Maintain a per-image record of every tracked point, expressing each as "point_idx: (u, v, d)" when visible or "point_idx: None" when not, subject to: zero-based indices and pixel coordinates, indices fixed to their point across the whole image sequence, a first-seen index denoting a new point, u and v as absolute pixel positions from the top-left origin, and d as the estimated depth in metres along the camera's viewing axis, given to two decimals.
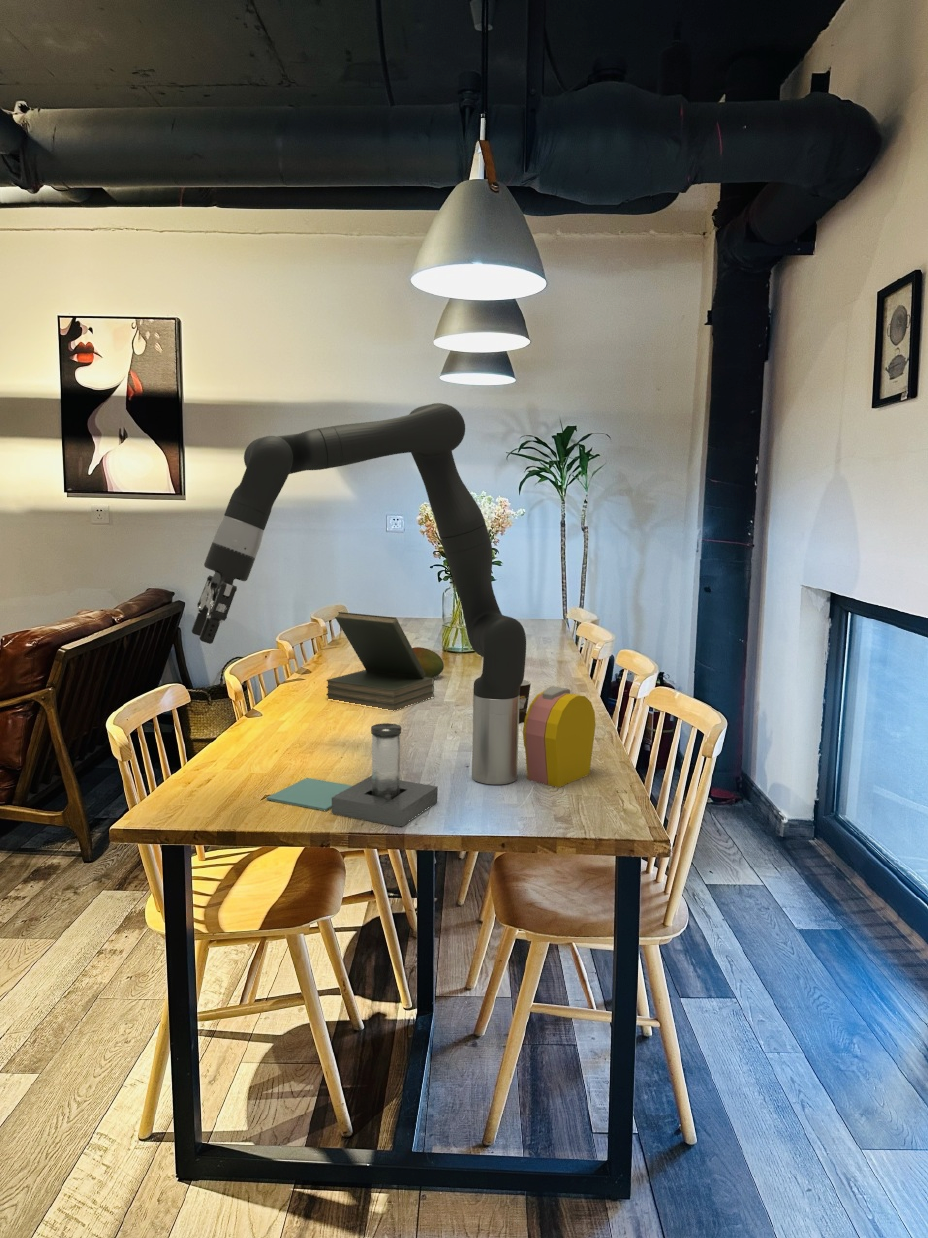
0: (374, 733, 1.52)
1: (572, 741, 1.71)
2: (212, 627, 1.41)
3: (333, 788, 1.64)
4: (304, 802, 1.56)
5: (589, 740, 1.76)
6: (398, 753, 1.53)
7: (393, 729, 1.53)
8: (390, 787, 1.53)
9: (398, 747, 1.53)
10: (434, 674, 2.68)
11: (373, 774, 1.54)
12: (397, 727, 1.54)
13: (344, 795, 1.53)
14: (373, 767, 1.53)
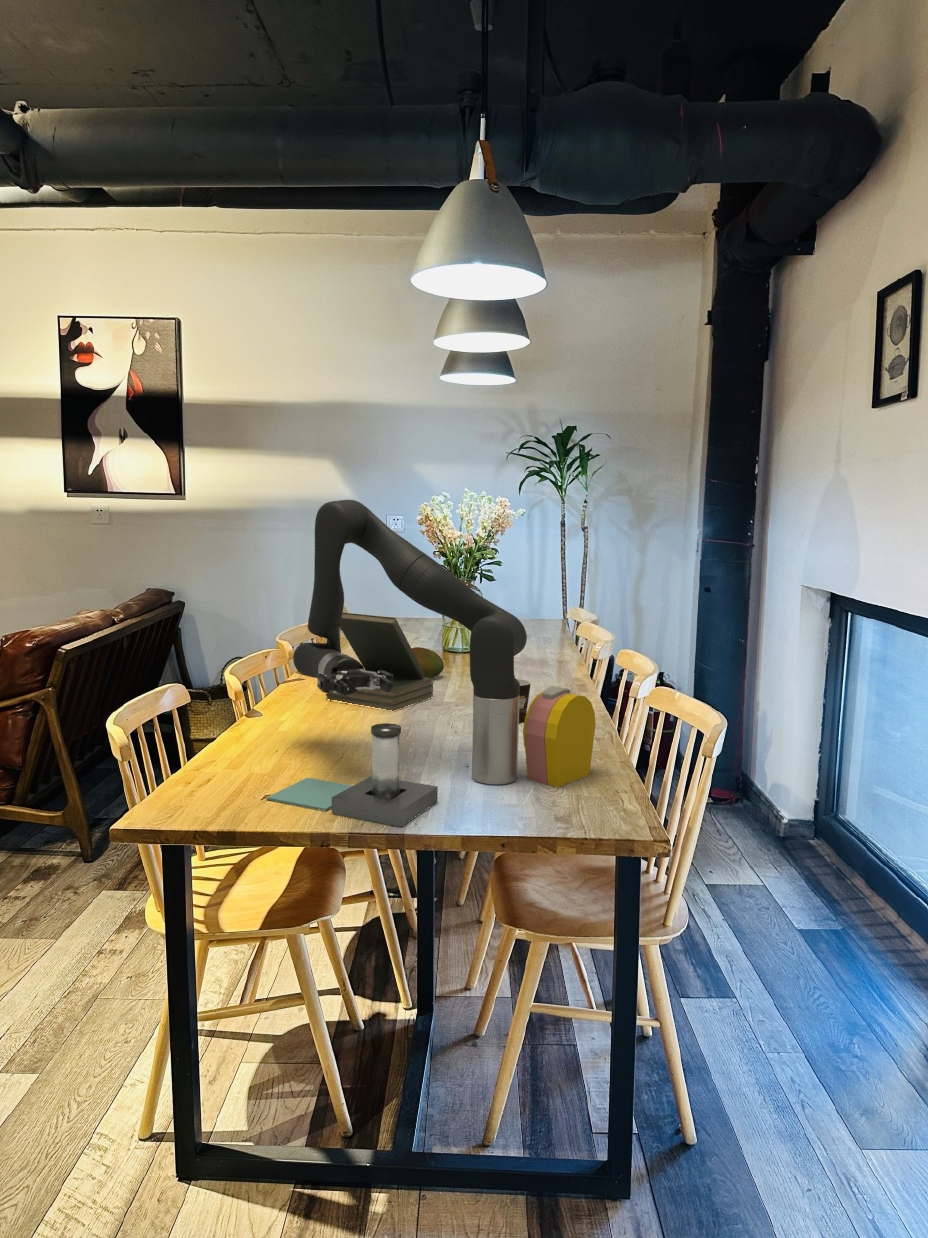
0: (374, 733, 1.52)
1: (572, 741, 1.71)
2: (336, 687, 1.62)
3: (333, 788, 1.64)
4: (304, 802, 1.56)
5: (589, 740, 1.76)
6: (398, 753, 1.53)
7: (393, 729, 1.53)
8: (390, 787, 1.53)
9: (398, 747, 1.53)
10: (434, 674, 2.68)
11: (373, 774, 1.54)
12: (397, 727, 1.54)
13: (344, 795, 1.53)
14: (373, 767, 1.53)
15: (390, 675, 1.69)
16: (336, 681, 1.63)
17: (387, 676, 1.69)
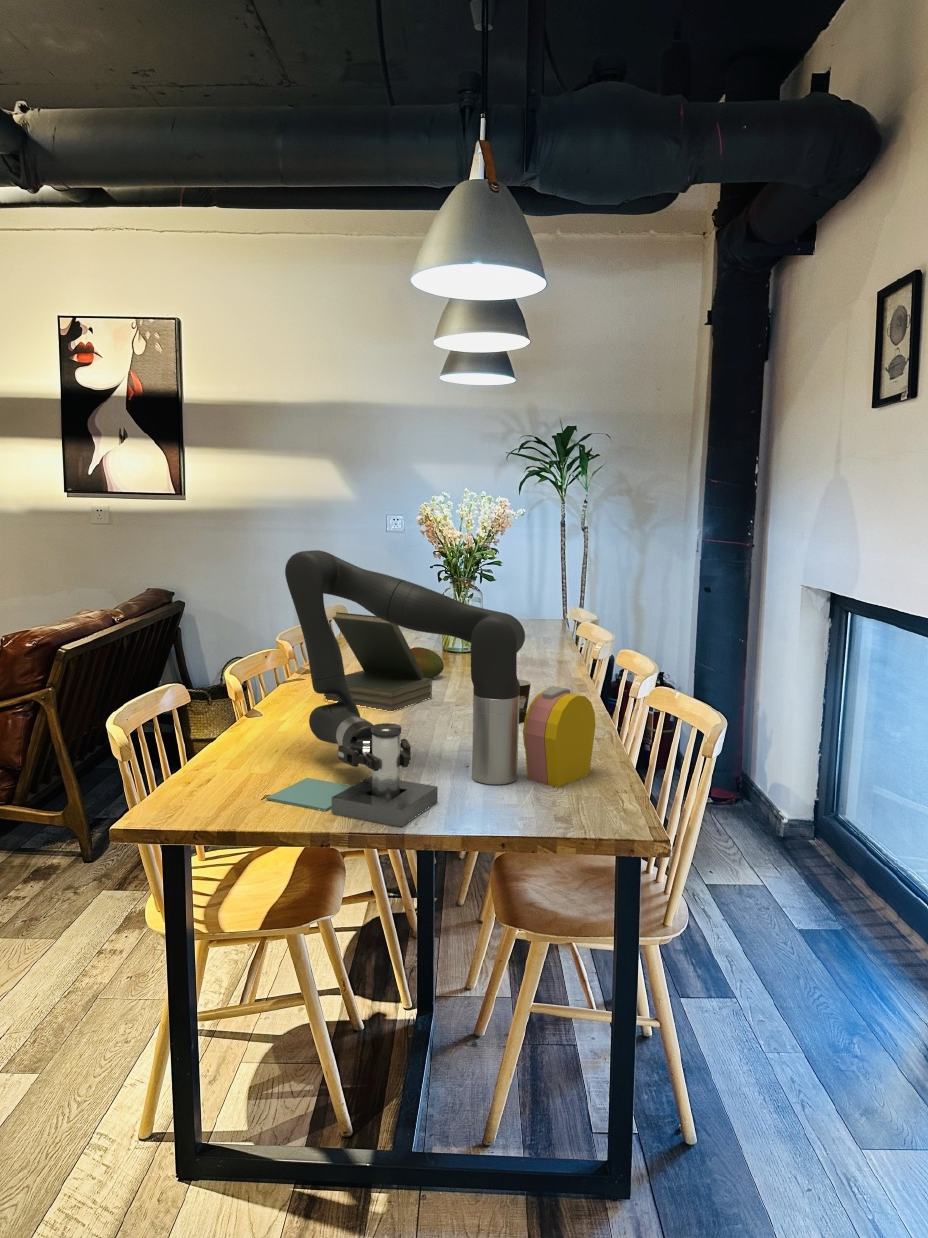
0: (374, 733, 1.52)
1: (572, 741, 1.71)
2: (366, 761, 1.53)
3: (333, 788, 1.64)
4: (304, 802, 1.56)
5: (589, 740, 1.76)
6: (398, 753, 1.53)
7: (393, 729, 1.53)
8: (390, 787, 1.53)
9: (398, 747, 1.53)
10: (434, 674, 2.68)
11: (373, 774, 1.54)
12: (397, 727, 1.54)
13: (344, 795, 1.53)
14: None
15: (407, 747, 1.58)
16: (367, 754, 1.54)
17: (404, 748, 1.59)
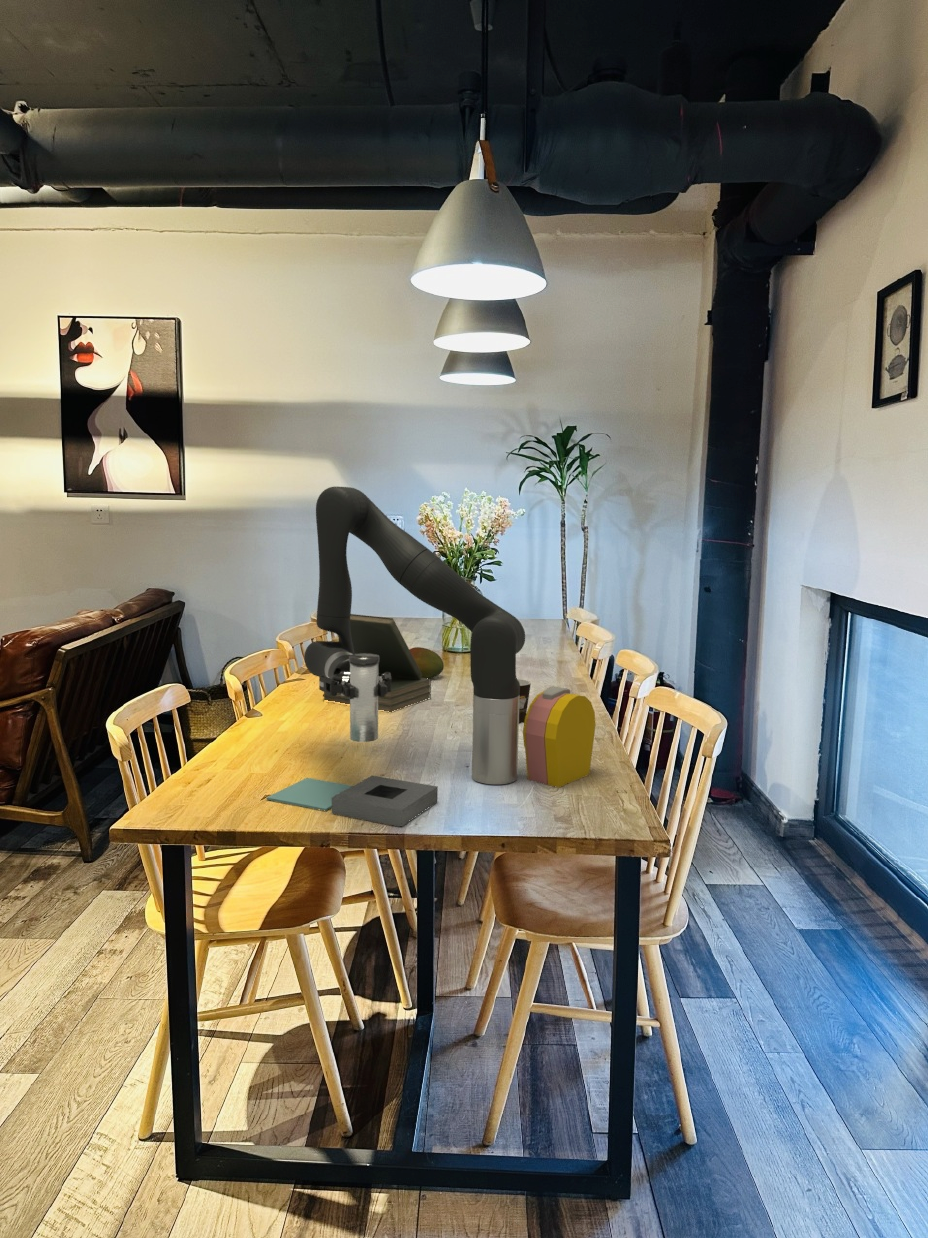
0: (351, 661, 1.52)
1: (572, 741, 1.71)
2: (343, 690, 1.53)
3: (333, 788, 1.64)
4: (304, 802, 1.56)
5: (589, 740, 1.76)
6: (375, 682, 1.53)
7: (370, 657, 1.52)
8: (366, 716, 1.52)
9: (375, 676, 1.52)
10: (434, 674, 2.68)
11: (350, 703, 1.53)
12: (375, 656, 1.53)
13: (344, 795, 1.53)
14: None
15: (387, 678, 1.57)
16: (345, 683, 1.54)
17: (384, 679, 1.58)
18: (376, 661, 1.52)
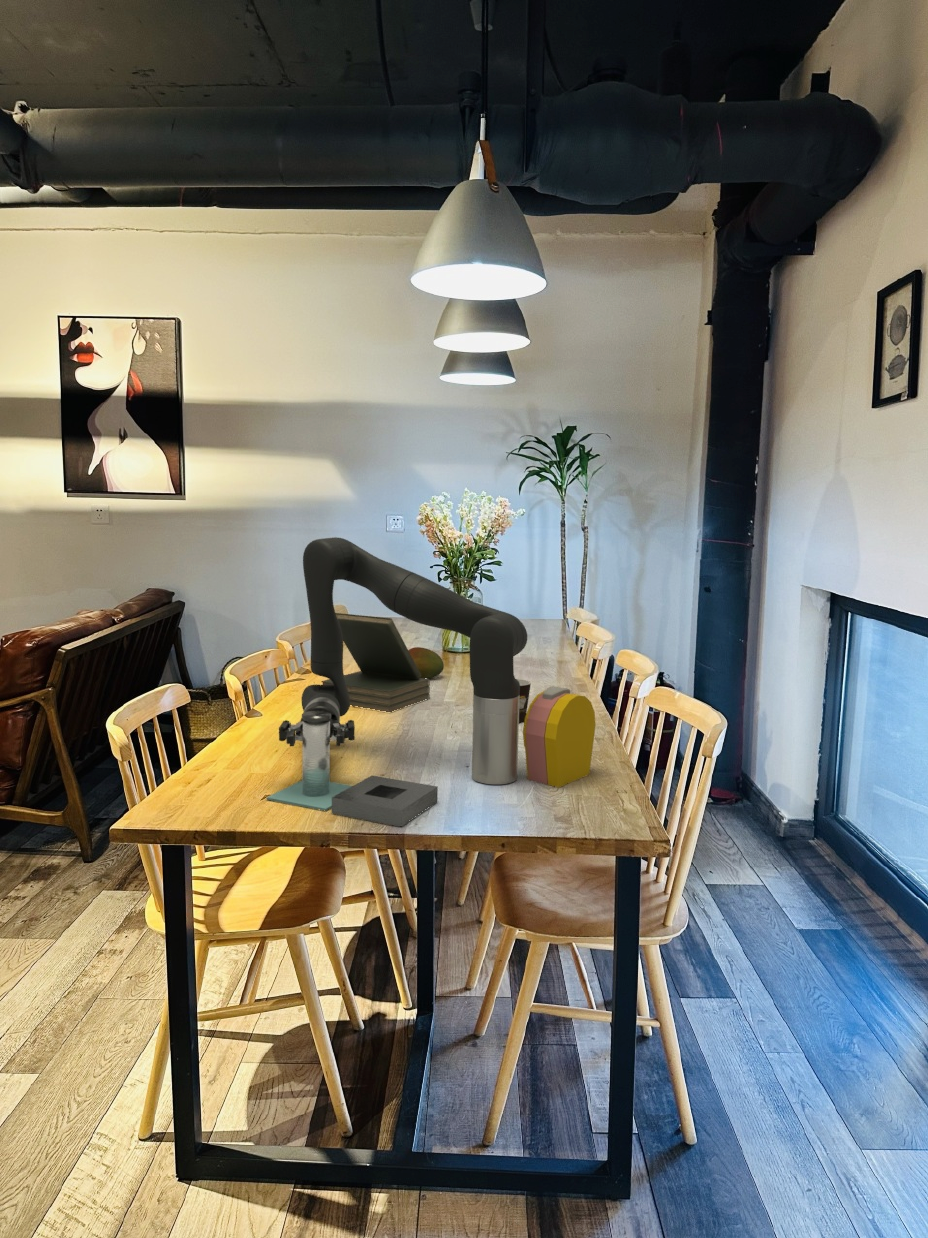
0: (302, 719, 1.59)
1: (572, 741, 1.71)
2: None
3: (333, 788, 1.64)
4: (304, 802, 1.56)
5: (589, 740, 1.76)
6: (324, 740, 1.59)
7: (319, 716, 1.58)
8: (314, 773, 1.59)
9: (324, 735, 1.59)
10: (434, 674, 2.68)
11: None
12: (325, 715, 1.59)
13: (344, 795, 1.53)
14: None
15: (350, 727, 1.64)
16: (290, 730, 1.62)
17: (348, 728, 1.64)
18: (325, 720, 1.58)
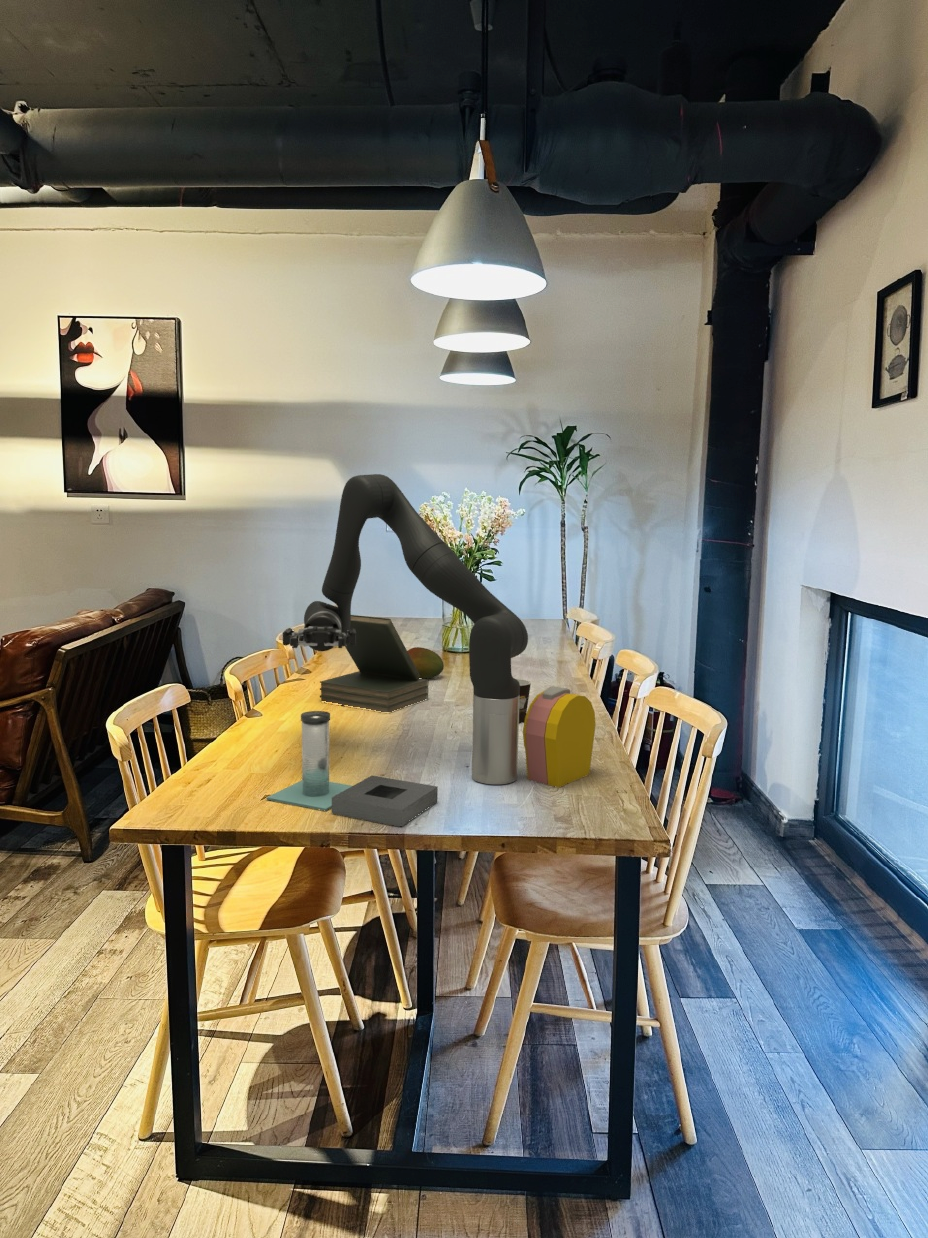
0: (301, 719, 1.59)
1: (572, 741, 1.71)
2: None
3: (333, 788, 1.64)
4: (304, 802, 1.56)
5: (589, 740, 1.76)
6: (324, 740, 1.59)
7: (318, 716, 1.58)
8: (314, 772, 1.59)
9: (323, 734, 1.59)
10: (434, 674, 2.68)
11: (302, 758, 1.61)
12: (324, 715, 1.59)
13: (344, 795, 1.53)
14: (302, 751, 1.60)
15: (352, 633, 1.69)
16: (293, 634, 1.67)
17: (349, 634, 1.70)
18: (324, 720, 1.58)
